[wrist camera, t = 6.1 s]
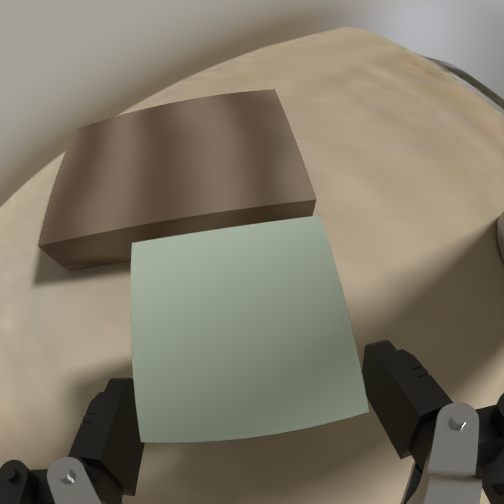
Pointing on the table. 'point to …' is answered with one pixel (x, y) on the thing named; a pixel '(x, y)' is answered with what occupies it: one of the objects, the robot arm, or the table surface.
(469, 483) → the robot arm
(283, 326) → the sage block
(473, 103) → the table surface
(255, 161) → the walnut base
